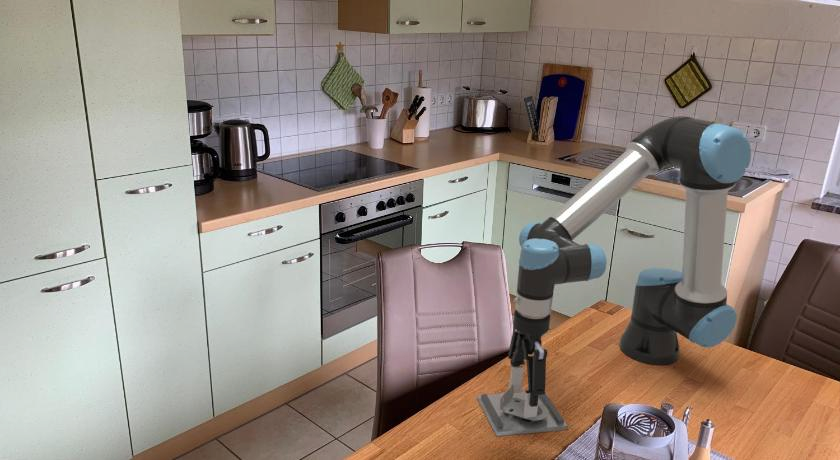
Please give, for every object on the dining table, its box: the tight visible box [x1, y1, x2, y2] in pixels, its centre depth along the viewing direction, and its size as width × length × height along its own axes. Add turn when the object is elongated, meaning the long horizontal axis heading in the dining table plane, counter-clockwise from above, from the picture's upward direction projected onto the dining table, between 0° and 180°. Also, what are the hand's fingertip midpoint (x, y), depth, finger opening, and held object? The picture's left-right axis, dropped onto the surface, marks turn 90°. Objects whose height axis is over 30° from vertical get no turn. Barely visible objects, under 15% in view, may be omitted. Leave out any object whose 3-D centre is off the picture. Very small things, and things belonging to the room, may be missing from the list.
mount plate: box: [477, 391, 569, 437], centre depth 144 cm, size 16×14×2 cm
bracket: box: [500, 385, 549, 421], centre depth 142 cm, size 7×10×3 cm, turn 59°
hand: (522, 403), depth 144 cm, fingers closed on bracket, 9 cm apart
